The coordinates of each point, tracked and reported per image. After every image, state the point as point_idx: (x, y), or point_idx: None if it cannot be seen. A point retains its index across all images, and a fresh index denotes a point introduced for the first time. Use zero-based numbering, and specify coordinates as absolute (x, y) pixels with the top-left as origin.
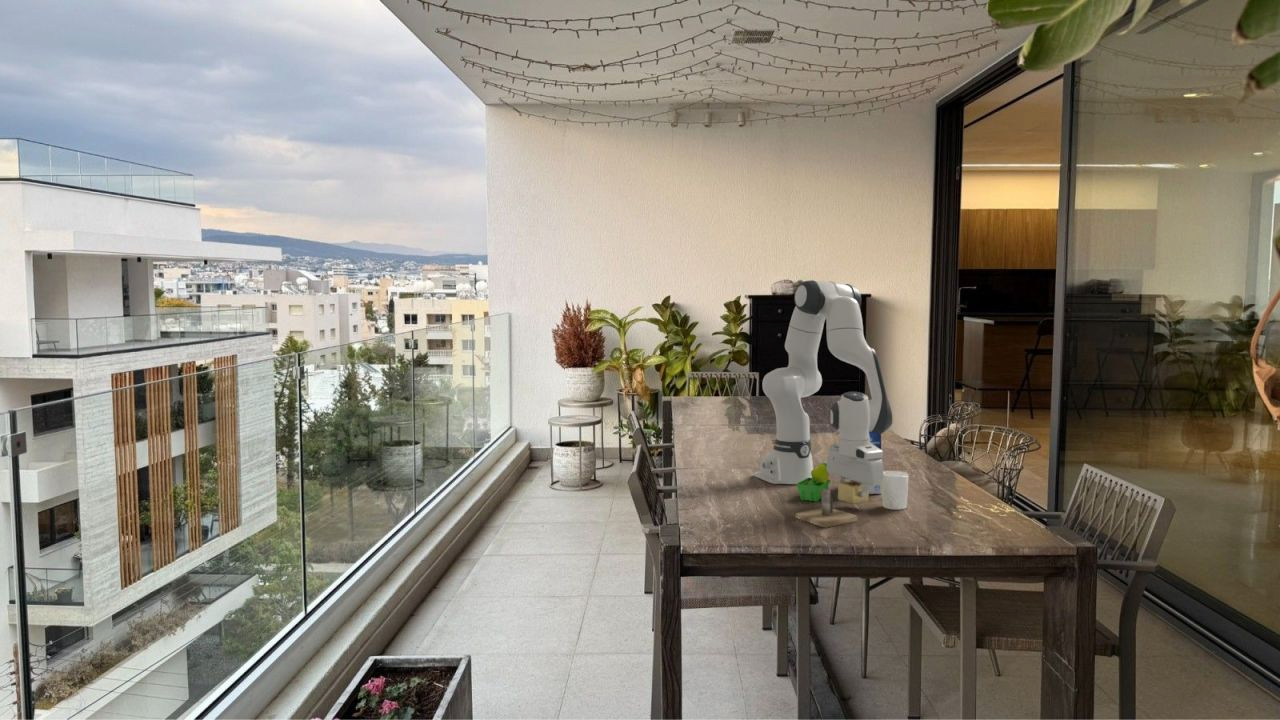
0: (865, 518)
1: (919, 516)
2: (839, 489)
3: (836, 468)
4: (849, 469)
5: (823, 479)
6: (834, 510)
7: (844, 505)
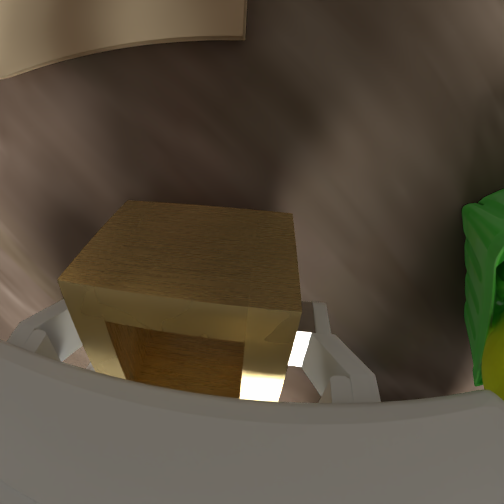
0: (25, 143)
1: (15, 318)
2: (274, 258)
3: (400, 477)
4: (116, 494)
5: (501, 341)
6: (129, 16)
7: (297, 254)
